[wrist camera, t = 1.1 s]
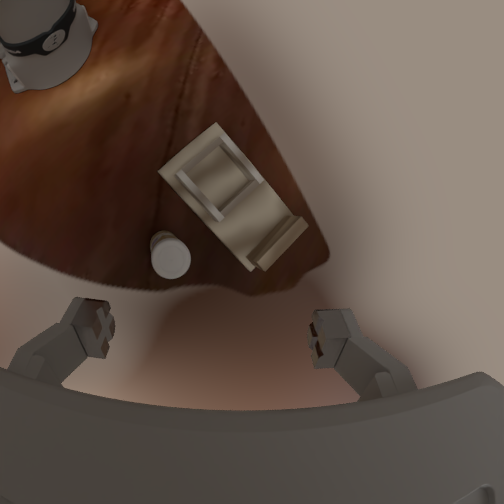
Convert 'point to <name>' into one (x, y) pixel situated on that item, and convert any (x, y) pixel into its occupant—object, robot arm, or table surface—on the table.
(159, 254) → the sprinkles bottle
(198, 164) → the caddy
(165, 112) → the table surface
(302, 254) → the table surface
